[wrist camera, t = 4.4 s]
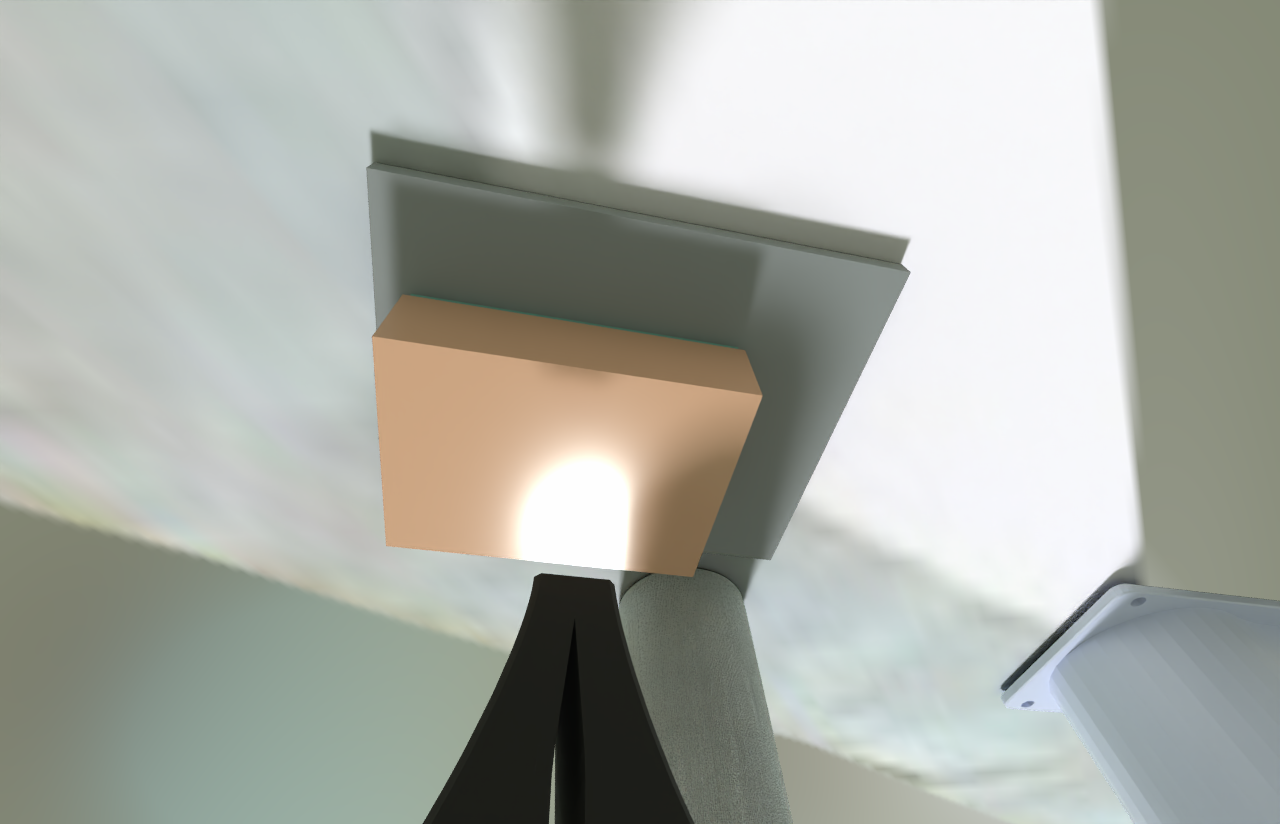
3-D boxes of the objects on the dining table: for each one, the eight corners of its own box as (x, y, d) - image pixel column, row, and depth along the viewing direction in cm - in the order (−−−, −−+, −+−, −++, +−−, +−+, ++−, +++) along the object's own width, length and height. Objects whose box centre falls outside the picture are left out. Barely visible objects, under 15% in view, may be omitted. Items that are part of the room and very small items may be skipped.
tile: (762, 395, 12) (371, 336, 11) (693, 577, 16) (386, 545, 15) (742, 344, 14) (406, 288, 13) (684, 516, 18) (412, 484, 16)
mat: (901, 264, 14) (910, 272, 13) (767, 548, 19) (770, 559, 19) (374, 161, 12) (366, 167, 12) (393, 506, 18) (388, 518, 17)
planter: (762, 617, 22) (859, 1009, 13) (657, 657, 23) (684, 1039, 14) (708, 547, 19) (783, 969, 11) (593, 595, 20) (581, 1008, 12)
